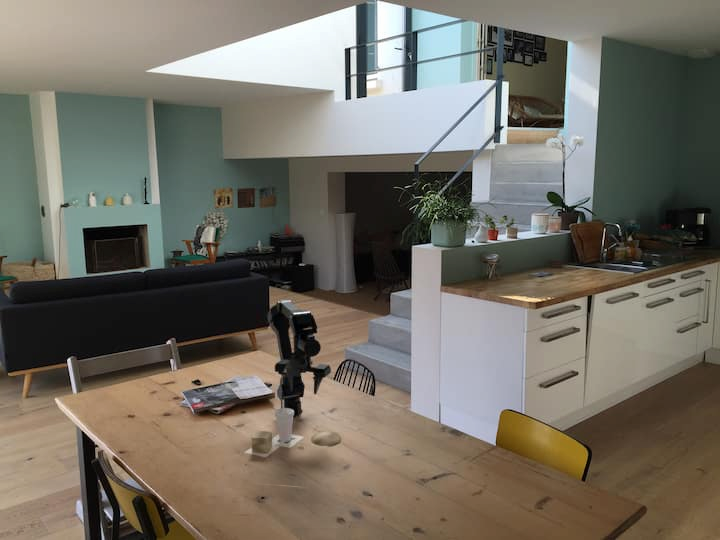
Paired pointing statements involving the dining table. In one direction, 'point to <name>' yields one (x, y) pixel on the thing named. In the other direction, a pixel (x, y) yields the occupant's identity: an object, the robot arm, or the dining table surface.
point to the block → (261, 442)
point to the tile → (263, 453)
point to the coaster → (326, 438)
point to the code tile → (286, 444)
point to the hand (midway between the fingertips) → (303, 392)
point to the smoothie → (284, 422)
